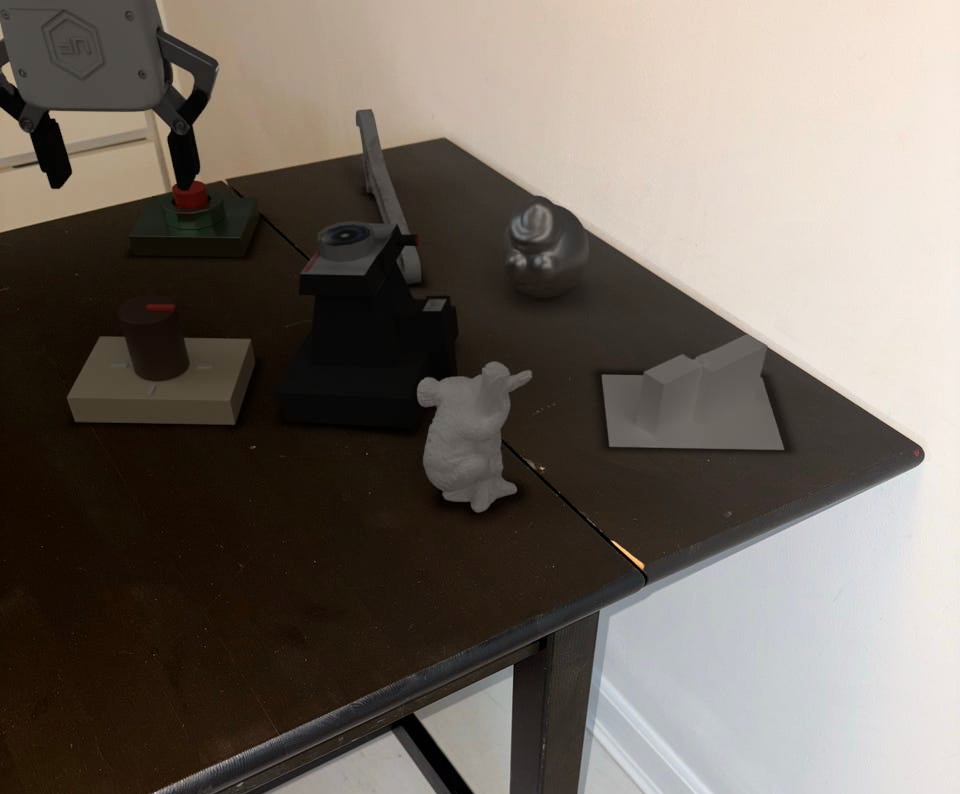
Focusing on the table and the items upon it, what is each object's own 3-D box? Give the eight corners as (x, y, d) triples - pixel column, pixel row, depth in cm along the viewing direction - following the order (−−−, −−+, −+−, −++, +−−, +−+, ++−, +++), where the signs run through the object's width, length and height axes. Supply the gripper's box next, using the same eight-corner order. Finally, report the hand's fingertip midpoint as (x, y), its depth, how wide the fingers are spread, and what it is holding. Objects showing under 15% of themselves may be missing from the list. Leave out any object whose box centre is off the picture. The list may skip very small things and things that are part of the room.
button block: (133, 255, 107) (124, 219, 104) (156, 215, 114) (148, 179, 111) (243, 257, 107) (237, 220, 104) (260, 216, 113) (254, 181, 111)
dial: (128, 380, 86) (110, 319, 81) (142, 351, 89) (125, 291, 85) (183, 381, 85) (167, 320, 81) (195, 352, 89) (181, 292, 84)
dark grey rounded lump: (478, 286, 103) (479, 189, 95) (554, 265, 106) (560, 169, 99) (525, 325, 97) (529, 225, 90) (603, 301, 101) (613, 202, 93)
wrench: (405, 312, 104) (358, 167, 121) (422, 310, 105) (372, 165, 122) (403, 242, 98) (353, 99, 115) (421, 240, 98) (369, 98, 115)
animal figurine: (534, 478, 81) (542, 347, 72) (514, 530, 76) (520, 397, 67) (435, 461, 82) (431, 330, 73) (411, 511, 78) (402, 378, 69)
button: (171, 210, 106) (168, 193, 105) (179, 196, 109) (175, 179, 107) (204, 210, 106) (201, 194, 105) (211, 196, 109) (208, 180, 107)
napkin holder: (761, 376, 91) (775, 319, 87) (786, 450, 84) (802, 391, 79) (599, 374, 91) (606, 317, 87) (609, 448, 84) (616, 389, 79)
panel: (75, 422, 86) (65, 395, 84) (107, 360, 92) (99, 334, 91) (235, 425, 86) (229, 398, 84) (255, 362, 92) (250, 337, 90)
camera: (313, 190, 87) (478, 190, 84) (343, 339, 97) (491, 344, 94) (245, 274, 76) (430, 277, 73) (287, 430, 87) (451, 440, 83)
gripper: (-105, -79, 60) (-5, 202, 73) (175, -77, 60) (227, 205, 72) (-57, -106, 65) (29, 161, 78) (202, -104, 65) (247, 164, 78)
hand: (125, 182), depth 75 cm, fingers open, 9 cm apart
